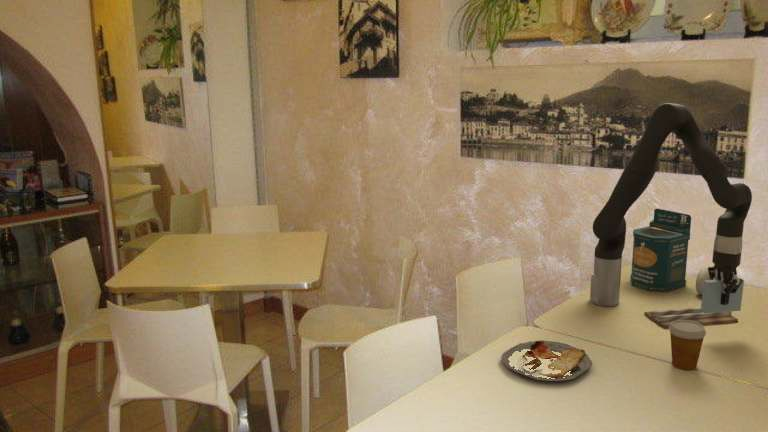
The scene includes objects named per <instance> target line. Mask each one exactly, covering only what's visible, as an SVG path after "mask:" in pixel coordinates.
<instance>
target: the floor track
mask: <svg viewBox="0 0 768 432" xmlns="http://www.w3.org/2000/svg"><path fill="white" fill-rule="evenodd" d="M732 312H733V311H730V312H717V313H703V312H702V311H701V306H700V307H690V308H678V309H677V308H675V309H665V310H651V311H644V314H643V315H644V316H645V317H647V318H648V319H650V321H653V322H654V323H655V324H657V325H659V326H660V327H661V328H663V329H669V326H670V325H671V323H672V322H673V321H676V320H688V321H694V322H697V323H699V324H701V325H703V326H707V325H709V324H711V325H717V324H718V325H720V324H721V325H722V324H730V323H731V324H732V323H738V322H739V320H738V318H736V317H735V316H733V315H732V314H733V313H732ZM709 326H710V325H709Z"/></svg>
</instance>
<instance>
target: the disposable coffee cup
mask: <svg viewBox="0 0 768 432" xmlns="http://www.w3.org/2000/svg"><path fill="white" fill-rule="evenodd" d="M668 330H669V333H670V346H671V348H670V349H671V364H672V366H673V367H675V368H676V369H679V370H684V371H694V370H696V369H697V367H698V362H699V358H700V354H701V350H702V346H703V341H704V338H705V337H706V335H707V331H706V328H705V325H701V324H699V323H697V322H694V321H688V320H676V321H673V322H672V323H671V325H670V326H669V328H668Z"/></svg>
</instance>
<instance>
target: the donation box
mask: <svg viewBox="0 0 768 432" xmlns="http://www.w3.org/2000/svg"><path fill="white" fill-rule="evenodd" d="M691 226H692V216H691V214H686V213H682V212H677V211H673V210H667V209H662V208H655V209H654V211H653V219H652V220H650V221H649V226H644V227H641V228H640V227H639V228H636V229H633V231H632V236H633V245H632V258H631V260H632V261H631V272H630V273H631V274H630V276H629V277H630V278H629V279H630V280H629V282H630V285H631V286H632V287H634V288H639V289H641V290H645V291H646V292H659V293H668V292H671V291H674V290H678V289H681V288H685V287H686V286H687V280H686V275H687V274H686V273H687V272H686V271H687V262H688V249H689V241H690V240H691Z"/></svg>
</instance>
